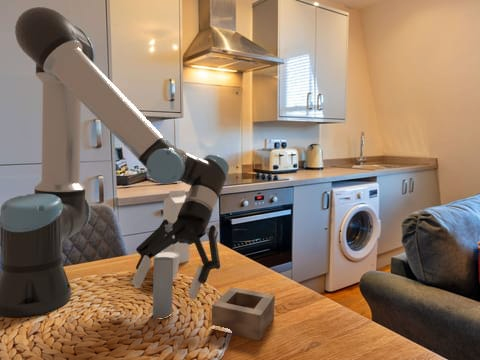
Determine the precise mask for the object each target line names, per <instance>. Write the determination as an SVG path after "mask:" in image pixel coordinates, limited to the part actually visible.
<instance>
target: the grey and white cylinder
mask: <svg viewBox="0 0 480 360" xmlns="http://www.w3.org/2000/svg"><path fill="white" fill-rule="evenodd" d="M179 256H180V255H179V253H176V252H172V251H164V252H163V251H161V252H160V253H158V254H157V255H155V256H154V257H152V258H153V260H154V259H156V258H159V257H169V258H172V259H173V278H175V277H177V278H178V271H179Z"/></svg>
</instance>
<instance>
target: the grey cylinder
mask: <svg viewBox="0 0 480 360" xmlns="http://www.w3.org/2000/svg"><path fill="white" fill-rule="evenodd" d="M152 268H153V269H152V270H153V275H152V276H153V277H152V279H153V280H152V281H153V283H152V285H153V286H152V287H153V288H152V317H153V318H154V319H155V318H164V317H167V316H169V315H170V314H171V313H172V314H173V291H174V290H173V284H174V283H173V259H172V258H169V257H159V258H156V259H153V267H152Z"/></svg>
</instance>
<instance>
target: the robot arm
mask: <svg viewBox="0 0 480 360" xmlns="http://www.w3.org/2000/svg"><path fill="white" fill-rule="evenodd" d="M14 28H15V29H14V30H15V31H14V33H15V38H16V42H17V43H18V46H19V47H20V49H21V50H22V51H23V53H24V54H26V56H28V57H29V58H30V59H31V60H32V61H33V62H34V63H35V76H36V77H37V79H39V80H40V82H41V83H42V111H41V112H42V113H41V114H42V116H41V117H42V118H41V119H42V123H41V125H42V128H41V130H42V131H41V132H42V134H41V138H42V139H41V181H39V183H38V184H37V185H35V186H34V189H33V190H34V193H30V194H25V195H18V196H15V197H11V198H9V199H7V200H5V202H3V203H2V204H1V207H0V260H1V264H0V265H1V266H0V267H1V270H0V271H1V272H0V316H2V317H7V318H21V317H22V318H24V317H33V316H38V315H41V314H45V313H48V312H51V311H55V310H56V309H59V308H61V307H62V306H65V304H67V303H68V302H69V301H70V300H71V298H72V286H71V283H70V282H69V278H68V276H67V273H66V270H65V268H64V265H63V243H64V242H65V241H67V240H68V239H69V238H73V237H75V236H77V235H78V234H79V233H80V232H81V231H82V230H83V229H85V227H86V226H87V225H88V223H89V220H90V218H91V206H90V202H89V200H88V199H86V186H84V185H83V184H82V183H81V181H80V165H81V163H80V159H81V157H80V156H81V154H80V153H81V120H82V119H81V117H82V115H81V114H82V113H81V112H82V104H83V105H84V106H85V107H86V108H87V109H88V111H90V112H91V113H92V114H93V115H94V117H96V118H97V119H98V120H99V121H100V123H102V124H103V126H105V128H106V129H107V130H109V131H110V133H111V134H112V135H114V137H116V139H117V140H118V141H119V142H121V143H122V145H123V146H124V147H125V148H126V149H127V150H128V151H129V152H130V153H131V154H132V155H133V156H134V157H135V158H136V159H137V160H138V161H139V162H140V163H141V164H142V166H144V167H145V169H146V171H147V174H148V176H149V177H150V179H151V180H153V182H156V183H157V184H161V185H168V184H169V185H170V184H174V183H176V182H178V181H179V182H181V183H185V184H186V185H189V186H190V187H189V190H188V191H187V194H186V198H185V200H184V203H183V205H182V207H181V209H180V211H179V213H178V217H177V220H176V222H174V223H170V222H168V221H167V220H166V219H165V220H162V222H161V224H160V225H159V226H158V227H157V228H156V229H155V230H154V231H153V232H152V233H151V234H150V235H148V237H147V238H146V239H145V240H143V242H141V244H139V245H138V246H137V247H136V248H135V250H136V252H137V253H138V254H139V255H140V257H139V260H138V262H137V263H136V266H135V269H136V272H135V273H134V275H133V278H132V280H131V284H132V285H134V286H135V287H136V288H137V289H140V288H141V286H142V283H143V282H144V280H145V278H146V275H147V273H148V271H149V269H150V267H151V265H152V263H153V261H152V260H151V259H152V258H153V257H154V256H155V255H157V254H158V253H160V252H163V250H164V249H166V248H167V247H169V246H170V245H172V244H176V243H177V242H179V243H187V244H190V246H191V245H192V244H194V245H195V247H196V250H197V252H198V254H199V257H200V260H201V262H202V264H198V266H197V268H196V271H195V274H194V275H193V276H194V277H193V280H192V281H191V284H190V288H189V290H188V291H187V294H188V296H189V297H190V299H191V300H194V301H195V300H197V296H198V294H199V291H200V288H201V286H202V285H204V284H205V283H206V282H207V280H208V277H209V274H210V272H211V270H214V269H216V270H219V269H220V268H221V262H220V256H219V255H220V253H219V249H218V248H219V247H218V242H217V238H218V234H219V232H218V230H217V228H216V226H215V225H211V226H210V227H209V223H210V221H211V218H212V214H213V213H214V210H215V208H216V206H217V203H218V200H219V197H220V195H221V193H222V190H223V188H224V185H225V183H226V180H227V177H228V174H229V170H230V166H229V162H228V161H227V160H226V159H225V158H223V157H222V156H220V155H218V154H216V155H215V154H207V155H206V156H204V158H201V157H198V156H195V155H194V154H191V153H189V152H187V151H184V150H183V149H181V148H178V147H176V146H174V145H172V144H171V142H169V141H168V140H167V139H166V137H164V136H163V135H162V134H161V133H160V132H159V130H158V129H157V128H156V127H155V126H154V125H153V124H152V123H151V122H150V121H149V119H147V118H146V117H145V116H144V115H143V113H141V112H140V110H138V109H137V107H136V106H135V105H134V104H133V103H132V102H131V101H130V100H129V99H128V98H127V97H126V96H125V95H124V94H123V92H121V91H120V90H119V88H118V87H117V86H116V85H115V84H114V83H113V82H112V81H111V80H110V79H109V78H108V77H107V76H106V75H105V73H103V72H102V71H101V70H100V69H99V67H98V66H96V64H95V57H96V56H95V55H96V53H95V48H94V46H93V44H92V42H91V40H90V39H89V37H88V36H87V34H86V33H85V32H84V31H83V30H82V29H81V28H79V27H77V26H76V25H74V24H73V23H72V22H70V20H69V19H67V18H66V17H65V15H63V14H61V13H60V12H58V11H56V10H54V9H51V8H49V7H46V6H45V7H44V6H38V7H31V8H28V9H26V10H25V11H24V12H22V13H21V14H20V15H19V16H18V18H17V21H16V24H15V27H14ZM171 229H173V230H171ZM170 230H171V231H170ZM166 234H167V235H166ZM165 235H166V236H165ZM173 235H174V236H175V238H172V236H173ZM205 235H207V237H208V244H209V250H210V258H211V259H210V260H209V258H208V255H207V253H206V250H205V248H204V246H203V244H202V241H201V238H202V237H204V236H205ZM164 236H165V237H164Z"/></svg>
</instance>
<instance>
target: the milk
mask: <svg viewBox="0 0 480 360" xmlns="http://www.w3.org/2000/svg"><path fill="white" fill-rule="evenodd" d="M168 195H169V196H168V197H166V198H165V199H164V200H163V214H162V215H163V217H162V219H163V220H165V219H166V220H167V221H168V222H170V223H174V222H176V220H177V217H178V213H179V211H180V209H181V207H182V205H183V203H184V200H185V198H186V196H187V194H186V190H185V189H181V190H180V189H179V190H171V191H169V193H168ZM163 220H162V221H163ZM171 230H173V229H171ZM171 230H170V231H171ZM166 235H167V234H166ZM166 235H165V236H166ZM165 236H164V237H165ZM172 238H175V236H174V235H173V236H172ZM190 248H191V245H190V244H187V243H179V242H177V243H176V244H172V245H170V246H169V247H167V248H166V249H164V250H163V251H162V252H164V251H172V252H176V253H179V255H180V256H179V264H183V263H186V262H190V255H191V252H190V251H191V250H190Z"/></svg>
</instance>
